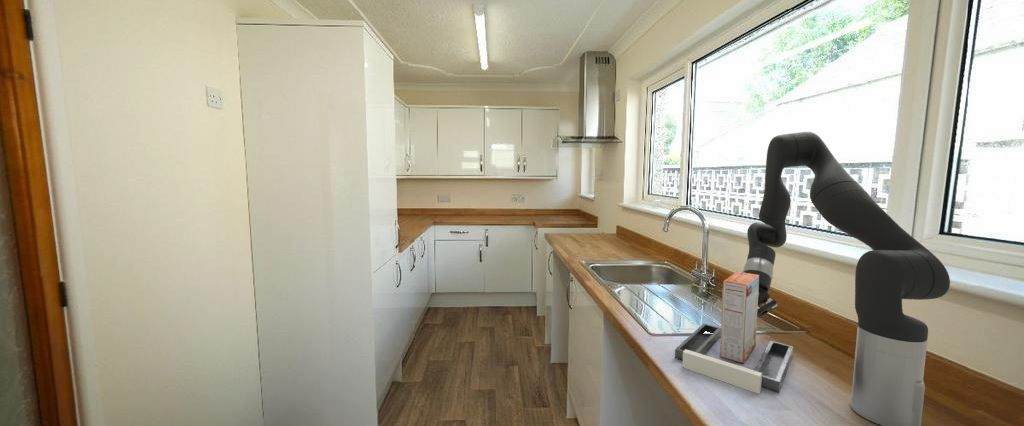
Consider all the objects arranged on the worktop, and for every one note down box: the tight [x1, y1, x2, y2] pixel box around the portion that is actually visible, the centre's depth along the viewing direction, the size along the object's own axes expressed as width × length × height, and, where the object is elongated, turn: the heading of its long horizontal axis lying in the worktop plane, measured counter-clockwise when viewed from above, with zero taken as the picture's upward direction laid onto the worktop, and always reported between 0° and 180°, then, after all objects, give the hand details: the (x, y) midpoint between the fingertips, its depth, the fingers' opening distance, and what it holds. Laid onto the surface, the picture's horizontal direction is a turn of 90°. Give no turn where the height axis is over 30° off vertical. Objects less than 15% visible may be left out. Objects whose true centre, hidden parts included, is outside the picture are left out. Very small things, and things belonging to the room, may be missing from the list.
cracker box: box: [719, 271, 759, 364], centre depth 95 cm, size 14×6×21 cm, turn 135°
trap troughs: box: [674, 323, 794, 393], centre depth 93 cm, size 22×24×2 cm
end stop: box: [681, 349, 762, 395], centre depth 83 cm, size 16×2×4 cm, turn 46°
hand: (745, 325), depth 101 cm, fingers closed
